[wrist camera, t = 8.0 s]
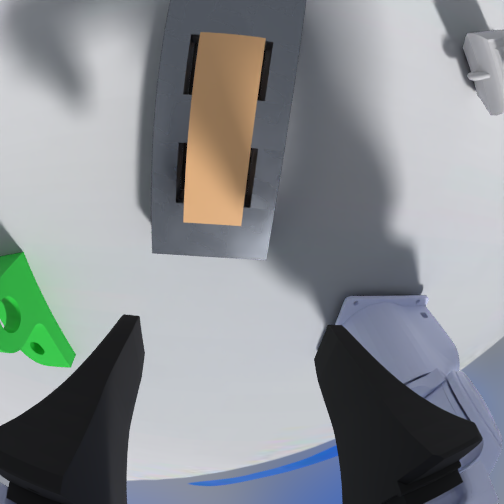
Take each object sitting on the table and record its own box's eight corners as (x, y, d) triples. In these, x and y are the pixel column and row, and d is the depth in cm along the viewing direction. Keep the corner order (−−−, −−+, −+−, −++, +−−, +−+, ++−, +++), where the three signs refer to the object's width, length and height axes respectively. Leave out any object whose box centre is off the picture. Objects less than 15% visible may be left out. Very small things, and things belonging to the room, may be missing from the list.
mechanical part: (-15, 258, 18) (-61, 309, 12) (24, 250, 19) (-27, 310, 12) (36, 351, 24) (11, 406, 17) (76, 353, 25) (53, 416, 18)
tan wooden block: (253, 55, 14) (265, 38, 10) (235, 194, 19) (241, 226, 14) (205, 50, 14) (200, 32, 10) (191, 191, 18) (183, 222, 14)
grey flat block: (295, 9, 13) (306, -3, 11) (260, 241, 20) (266, 260, 18) (180, -3, 12) (174, -17, 10) (159, 235, 19) (152, 253, 17)
